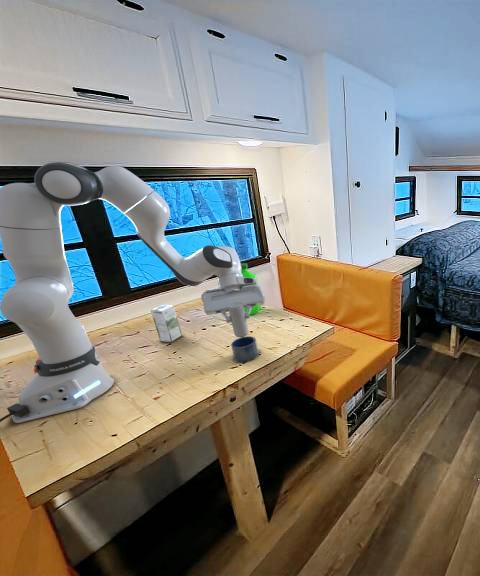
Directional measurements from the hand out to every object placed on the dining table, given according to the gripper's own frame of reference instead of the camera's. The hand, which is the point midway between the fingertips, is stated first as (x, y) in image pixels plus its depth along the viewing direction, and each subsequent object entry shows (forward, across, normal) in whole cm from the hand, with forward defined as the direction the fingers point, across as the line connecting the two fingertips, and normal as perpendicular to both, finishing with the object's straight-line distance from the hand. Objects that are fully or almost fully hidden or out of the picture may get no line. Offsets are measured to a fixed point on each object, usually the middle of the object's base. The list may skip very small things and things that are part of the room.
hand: (238, 320), depth 109 cm
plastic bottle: (-18, +5, +41) cm, 45 cm away
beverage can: (+4, 0, +5) cm, 7 cm away
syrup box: (-11, -28, +33) cm, 44 cm away
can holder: (+10, 0, +11) cm, 15 cm away
